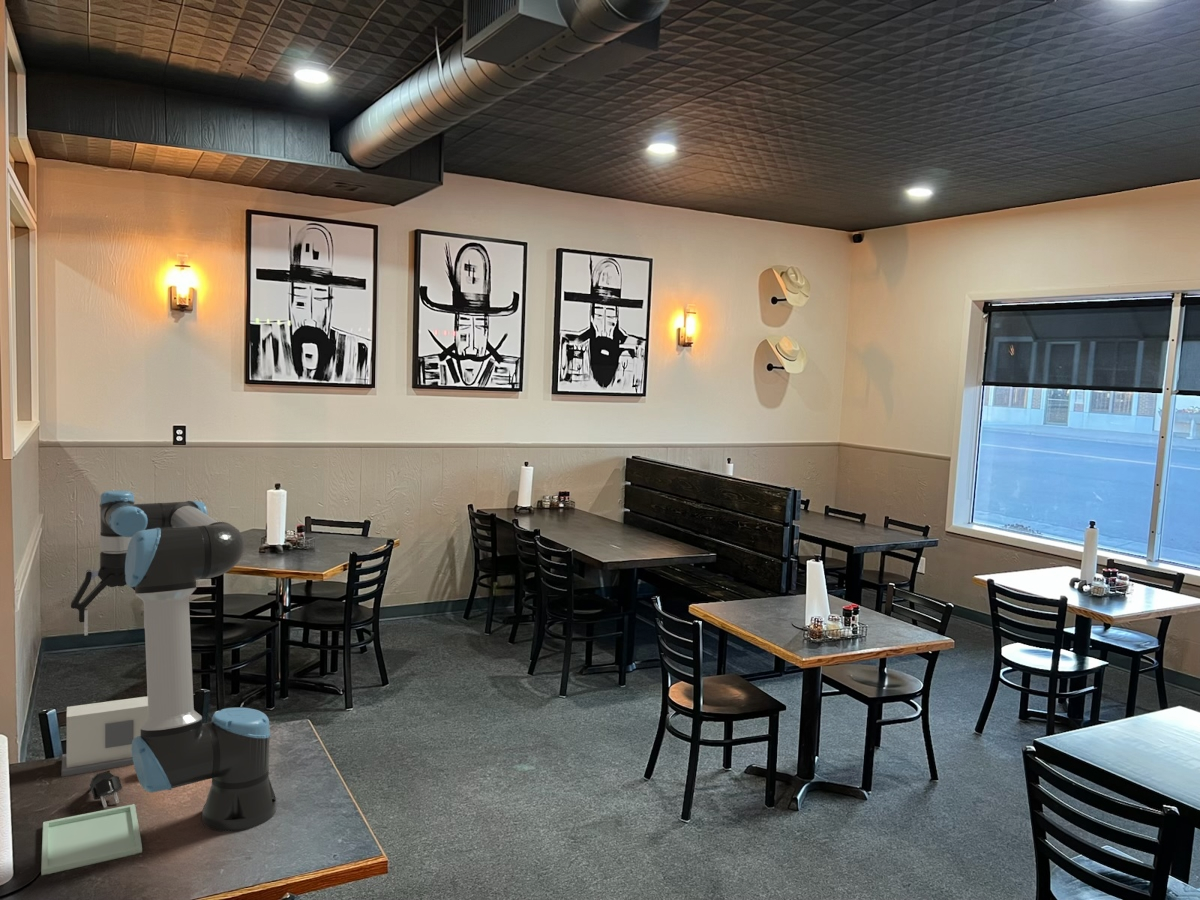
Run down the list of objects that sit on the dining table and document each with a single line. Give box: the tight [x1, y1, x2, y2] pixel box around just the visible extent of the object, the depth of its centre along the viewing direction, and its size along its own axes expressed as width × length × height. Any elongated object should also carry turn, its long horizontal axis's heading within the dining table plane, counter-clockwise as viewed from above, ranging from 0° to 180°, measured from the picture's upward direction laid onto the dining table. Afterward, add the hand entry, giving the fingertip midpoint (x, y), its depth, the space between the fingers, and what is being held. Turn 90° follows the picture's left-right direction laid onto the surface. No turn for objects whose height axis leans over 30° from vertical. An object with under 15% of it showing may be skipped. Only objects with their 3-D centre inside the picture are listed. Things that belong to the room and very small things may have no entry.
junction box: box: [61, 696, 148, 777], centre depth 212 cm, size 24×10×14 cm, turn 121°
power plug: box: [87, 770, 123, 809], centre depth 192 cm, size 6×8×12 cm
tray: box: [40, 803, 143, 877], centre depth 175 cm, size 20×17×2 cm
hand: (116, 631), depth 221 cm, fingers open, 13 cm apart
